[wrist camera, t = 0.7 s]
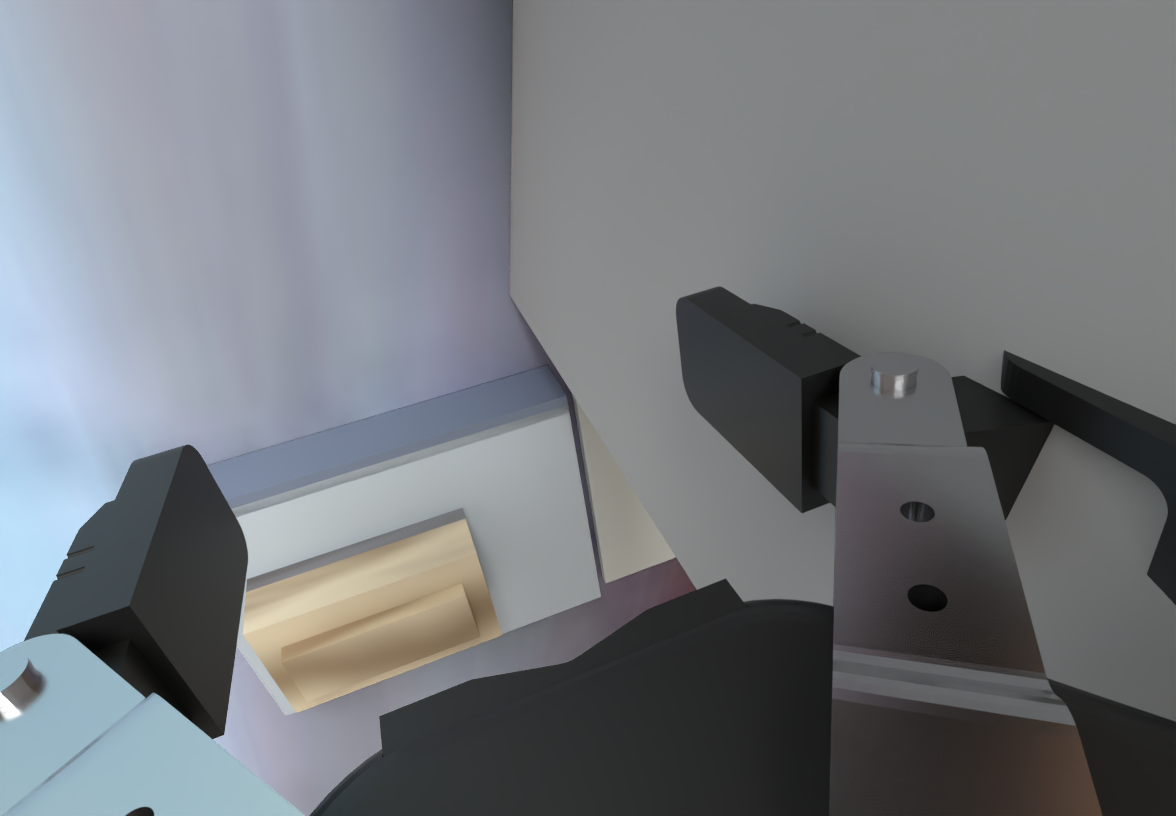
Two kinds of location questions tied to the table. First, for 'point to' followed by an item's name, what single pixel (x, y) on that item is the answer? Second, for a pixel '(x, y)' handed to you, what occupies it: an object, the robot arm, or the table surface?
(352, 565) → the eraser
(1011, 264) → the grey panel
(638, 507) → the mat
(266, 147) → the table surface
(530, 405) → the large white box
